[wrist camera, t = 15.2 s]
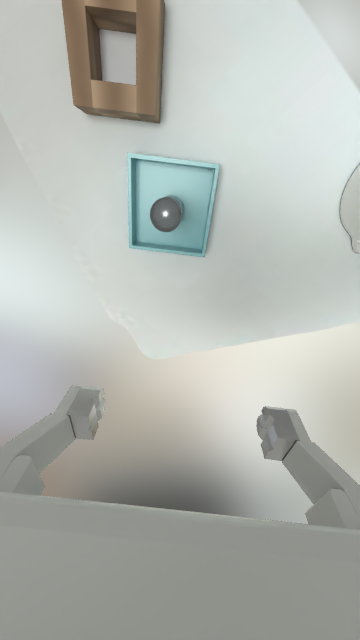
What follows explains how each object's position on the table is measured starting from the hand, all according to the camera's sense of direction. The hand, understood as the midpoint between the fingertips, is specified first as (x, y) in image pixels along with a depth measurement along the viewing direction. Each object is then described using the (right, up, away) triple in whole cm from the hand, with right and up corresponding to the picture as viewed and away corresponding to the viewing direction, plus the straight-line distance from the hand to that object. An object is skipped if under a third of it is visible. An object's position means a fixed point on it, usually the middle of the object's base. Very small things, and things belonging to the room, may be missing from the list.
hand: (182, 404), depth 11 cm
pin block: (-8, +38, +17) cm, 42 cm away
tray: (-2, +23, +26) cm, 35 cm away
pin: (-2, +23, +25) cm, 34 cm away
